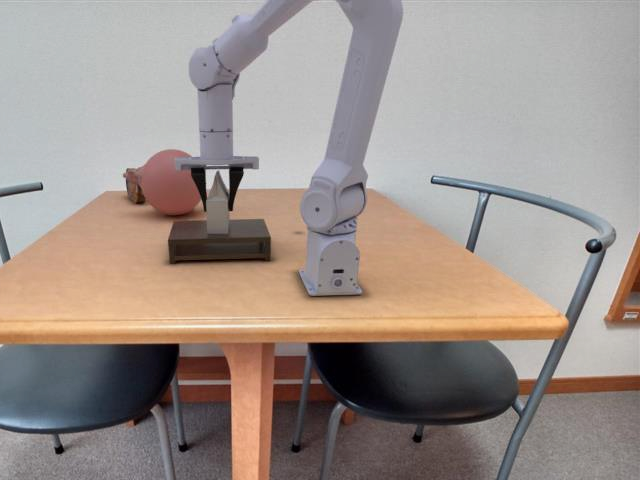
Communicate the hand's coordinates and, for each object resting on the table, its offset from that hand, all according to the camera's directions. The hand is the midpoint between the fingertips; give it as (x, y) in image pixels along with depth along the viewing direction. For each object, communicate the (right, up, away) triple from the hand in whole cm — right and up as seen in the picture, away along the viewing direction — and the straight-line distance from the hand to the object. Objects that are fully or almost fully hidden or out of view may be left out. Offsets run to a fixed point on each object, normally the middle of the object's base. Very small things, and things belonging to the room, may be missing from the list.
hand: (218, 210), depth 79 cm
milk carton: (0, -3, +2) cm, 4 cm away
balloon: (-14, +5, +29) cm, 33 cm away
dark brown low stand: (0, -7, +3) cm, 8 cm away
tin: (-25, +12, +44) cm, 52 cm away
